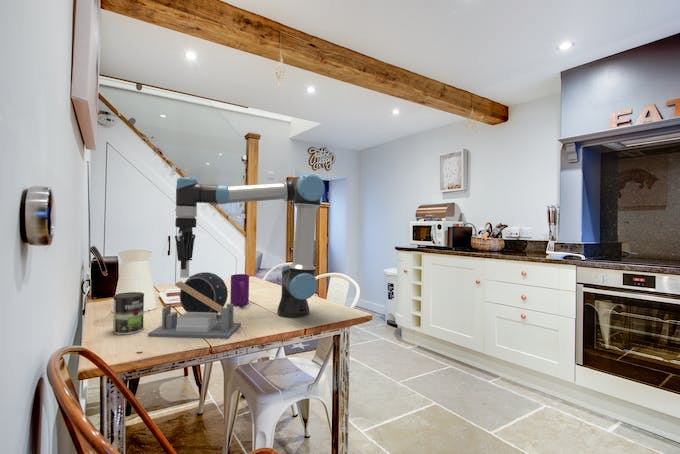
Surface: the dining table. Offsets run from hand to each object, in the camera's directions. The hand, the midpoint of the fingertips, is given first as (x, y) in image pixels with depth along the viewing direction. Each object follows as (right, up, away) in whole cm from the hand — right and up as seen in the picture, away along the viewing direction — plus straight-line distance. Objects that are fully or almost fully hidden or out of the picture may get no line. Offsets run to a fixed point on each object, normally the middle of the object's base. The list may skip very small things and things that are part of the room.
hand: (184, 277), depth 138 cm
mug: (+10, -21, +41) cm, 47 cm away
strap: (+7, -9, 0) cm, 12 cm away
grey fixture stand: (+5, -21, +1) cm, 22 cm away
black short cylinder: (0, -21, +20) cm, 29 cm away
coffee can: (-21, -21, -1) cm, 30 cm away
